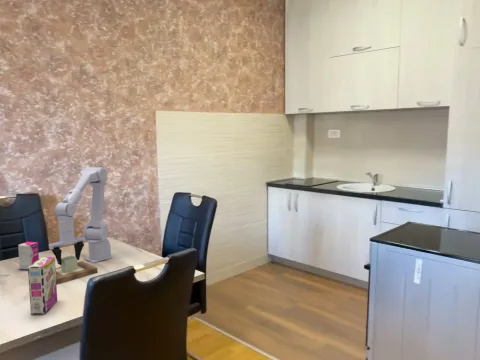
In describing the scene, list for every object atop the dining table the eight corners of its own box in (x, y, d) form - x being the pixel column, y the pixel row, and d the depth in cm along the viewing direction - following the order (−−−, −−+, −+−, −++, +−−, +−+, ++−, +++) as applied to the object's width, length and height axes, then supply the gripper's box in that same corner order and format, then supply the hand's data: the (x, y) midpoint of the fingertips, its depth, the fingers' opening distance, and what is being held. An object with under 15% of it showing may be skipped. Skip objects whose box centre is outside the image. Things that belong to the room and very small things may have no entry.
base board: (82, 265, 178) (81, 260, 178) (97, 272, 169) (97, 267, 169) (41, 276, 165) (40, 271, 165) (55, 284, 156) (54, 279, 155)
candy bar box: (46, 314, 130) (42, 266, 128) (30, 315, 130) (26, 267, 128) (58, 300, 141) (55, 256, 139) (44, 300, 141) (40, 256, 139)
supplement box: (30, 270, 172) (28, 245, 171) (19, 270, 173) (17, 245, 172) (40, 266, 178) (38, 241, 176) (28, 265, 179) (26, 241, 178)
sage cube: (72, 266, 170) (71, 255, 170) (77, 269, 167) (76, 257, 166) (60, 269, 167) (59, 258, 166) (65, 272, 163) (65, 260, 163)
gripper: (78, 225, 173) (80, 255, 174) (44, 232, 162) (47, 264, 164) (86, 228, 168) (88, 259, 170) (52, 235, 157) (54, 267, 159)
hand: (68, 261), depth 166 cm, fingers open, 7 cm apart
